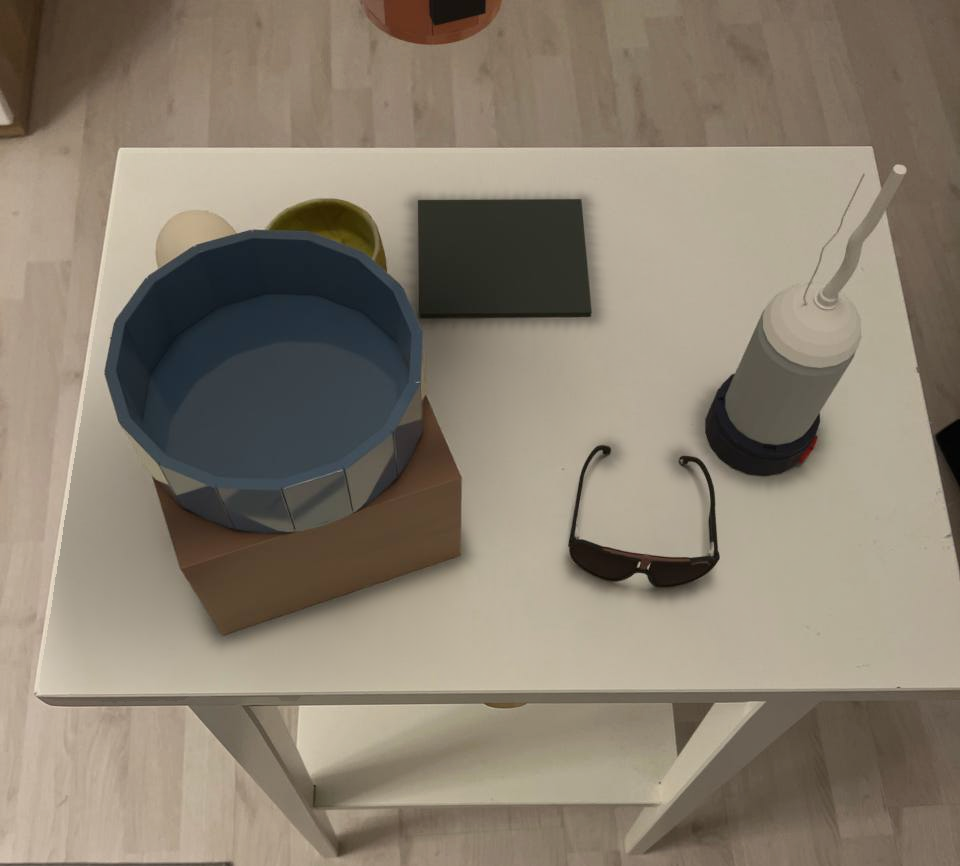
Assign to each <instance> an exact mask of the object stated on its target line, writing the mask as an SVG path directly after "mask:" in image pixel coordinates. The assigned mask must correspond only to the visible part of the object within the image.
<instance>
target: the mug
mask: <svg viewBox="0 0 960 866" xmlns="http://www.w3.org/2000/svg"><path fill="white" fill-rule="evenodd" d="M264 230H281V231H308V232H310V233H311V232H313V233H315V234H318V235H321V236H323V237H326V238H329V239H331V240H334V241H337V242H339V243H342V244H345V245H347V246H350V247H353V248H355V249H358V250H361V251H362V252H364V253H366V254H367V255H368V256H369V257H370V258H371V259H372V260H374V261H375V262H376V263H377V264H378V265H379V266H380V267H381V268H383V269H384V270H385V271H386V272H387V273H388V266H387V258H386V253H385V249H384V245H383V241H382V237H381V234H380V231H379V226H378V225H377V224H376V222H375V221H374V219H373V217H372V215H371V214H370V213H369V212H368V211H367V210H366V209H364V208H363V207H361V206H359V205H357V204H355V203H353V202H351V201H348V200H344V199H340V198H333V197H331V198H329V197H328V198H326V197H324V198H322V197H321V198H320V197H319V198H318V197H317V198H312V199H308V200H304V201H301V202H298V203H296V204H293V205H291V206H289V207H287V208H285V209H283V210H282V211H280V212H279V213H278V214H276V216H275V217H274V218H273V219H272V220H271V221H270V222H268V225H266V226H265V229H264Z"/></svg>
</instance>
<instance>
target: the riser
mask: <svg viewBox="0 0 960 866" xmlns="http://www.w3.org/2000/svg"><path fill="white" fill-rule="evenodd" d="M109 339H110V340H111V336H110V337H109ZM110 340H109V341H110ZM450 449H451V448H450V447H449V445H448V442H447V440H446V438H445V435H444V433H443V431H442V429H441V426H440V423H439V421H438V419H437V417H436V415H435V412H434V410H433V408H432V405H431V403H430V401H429V398H428V395H427V394H426V393H425V412H424V427H423V432H422V434H421V436H420V438H419V440H418V443H417V445H416V447H415V450H414V452H413V454H412V456H411V458H410V460H409V461H408V463H407V464H406V466H405V467H404V469H403V471H402V472H401V473H400V474H399V476H398V477H397V478H396V479H395V480H394V481H393V483H392V484H391V485H390V486H389V487H388V488H387V489H386V490H385V491H383V492H382V493H381V494H380V495H379V496H378V497H377V498H376V499H374V500H373V501H371V502H370V503H368V504H367V505H366V506H364V507H363V508H361V509H360V510H358V511H356V512H354V513H352V514H350V515H348V516H346V517H345V518H342V519H340V520H337V521H335V522H332V523H329V524H327V525H324V526H320V527H316V528H312V529H309V530H303V531H296V532H289V533H256V532H246V531H242V530H237V529H232V528H228V527H225V526H222V525H219V524H216V523H213V522H210V521H208V520H206V519H204V518H202V517H200V516H198V515H196V514H194V513H192V512H191V511H189V510H188V509H186V508H183V507H182V506H180V505H179V504H178V503H177V502H176V501H175V500H174V499H173V498H172V497H171V496H170V495H169V494H168V493H167V492H166V491H165V490H164V489H163V488H162V487H161V485H160V484H159V483H158V482H157V481H156V479H155V478H154V477H153V476H152V475H151V477H152V480H153V485H154V487H155V490H156V494H157V498H158V501H159V504H160V507H161V511H162V514H163V517H164V521H165V523H166V528H167V530H168V533H169V536H170V540H171V543H172V546H173V550H174V553H175V556H176V560H177V563H178V566H179V569H180V571H181V573H182V574H183V575H184V577H185V579H186V581H187V582H188V584H189V586H190V587H191V588H192V590H193V592H194V593H195V595H196V596H197V598H198V599H199V601H200V603H201V604H202V606H203V608H204V609H205V611H206V612H207V615H208V616H209V617H210V619H211V620H212V622H213V623H214V625H215V627H216V628H217V629H218V631H219V633H220V634H221V636H225V635H227V634H231V633H234V632H237V631H240V630H243V629H245V628H249V627H251V626H254V625H257V624H261V623H263V622H267V621H269V620H272V619H275V618H278V617H282V616H283V615H287V614H290V613H293V612H296V611H299V610H302V609H306V608H308V607H310V606H314V605H317V604H320V603H323V602H326V601H329V600H331V599H335V598H337V597H340V596H345V595H347V594H349V593H353V592H355V591H358V590H362V589H364V588H367V587H370V586H373V585H377V584H379V583H382V582H385V581H388V580H391V579H395V578H397V577H400V576H403V575H406V574H409V573H412V572H415V571H418V570H420V569H424V568H426V567H429V566H432V565H435V564H439V563H442V562H444V561H445V562H446V561H448V560H450V559H453V558H457V557H459V556H461V555H462V554H461V553H462V493H463V477H462V474H461V472H460V470H459V468H458V466H457V463H456V460H455V458H454V456H453V454H452V452H451V450H450Z"/></svg>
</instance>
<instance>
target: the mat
mask: <svg viewBox="0 0 960 866" xmlns="http://www.w3.org/2000/svg"><path fill="white" fill-rule="evenodd" d="M583 212H584V211H583V204H582V198H538V199H537V198H534V199H533V198H532V199H531V198H530V199H529V198H528V199H527V198H525V199H524V198H521V199H520V198H519V199H518V198H517V199H516V198H515V199H513V198H512V199H511V198H509V199H507V198H506V199H505V198H504V199H503V198H501V199H500V198H499V199H418V200H417V218H418V219H417V228H418V229H417V230H418V234H417V236H418V239H417V240H418V241H417V242H418V300H419V301H418V302H419V303H418V305H419V306H418V308H419V309H418V312H419V315H418V316H419V318H420V319H424V318H425V319H426V318H427V319H428V318H429V319H430V318H433V319H434V318H437V319H439V318H530V317H531V318H533V317H534V318H535V317H536V318H539V317H541V318H542V317H543V318H545V317H546V318H547V317H550V318H551V317H591V316H592V313H593V312H592V299H591V289H590V280H589V268H588V267H589V266H588V258H587V256H588V255H587V248H586V247H587V246H586V235H585V225H584V224H585V223H584V213H583Z"/></svg>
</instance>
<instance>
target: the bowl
mask: <svg viewBox="0 0 960 866" xmlns="http://www.w3.org/2000/svg"><path fill="white" fill-rule="evenodd" d="M236 233H237V234H233V235H230V236H226V237H222V238H219V239H215V240H211V241H207V242H204V243H200V244H196V245H195V246H192V247H191V248H189V249H188V250H186V251H185V252H183V253H182V254H180V255H179V256H177V257H176V258H174V259H173V260H171V261H170V262H168V263H167V264H165V265H164V266H162V267H161V268H159V269H158V268H157V269H155V271H153V272H151V273H149V274H148V275H147V276H146V277H145V278H144V279H143V281H142V282H141V283H140V285H139V286H138V287H137V289H136V290H135V292H134V293H133V295H132V296H131V297H130V299H129V300H128V302H127V303H126V304H125V305H124V307H123V308H122V310H121V311H120V312H119V313H118V314H117V317H116V318H115V319H114V322H113V325H112V331H111V334H110V337H111V340H109V346H108V350H107V357H106V360H105V365H104V370H103V373H104V377H105V381H106V385H107V388H108V392H109V395H110V398H111V401H112V404H113V407H114V408H113V409H114V412H115V414H116V418H117V421H118V422H117V423H119V425H120V427H121V429H122V430H123V432H124V434H125V436H126V437H127V439H128V441H129V443H130V444H131V446H132V448H133V449H134V451H135V453H136V455H137V456H138V459H139V460H140V462H141V463H142V465H143V467H144V469H145V470H146V471H147V472H148V473H149V475H150V476H151V477H152V476H153V477H154V478H155V479H156V481H157V482H158V483H159V484H160V485H161V487H162V488H163V489H164V490H165V491H166V492H167V493H168V494H169V495H170V496H171V497H172V498H173V499H174V500H175V501H176V502H177V503H178V504H179V505H180V506H182V507H183V508H186V509H188V510H189V511H191V512H192V513H194V514H196V515H198V516H200V517H202V518H204V519H206V520H208V521H210V522H213V523H216V524H219V525H222V526H225V527H228V528H232V529H237V530H242V531H246V532H256V533H289V532H296V531H303V530H309V529H312V528H316V527H320V526H324V525H327V524H329V523H332V522H335V521H337V520H340V519H342V518H345V517H346V516H348V515H350V514H352V513H354V512H356V511H358V510H360V509H361V508H363V507H364V506H366V505H367V504H368V503H370V502H371V501H373V500H374V499H376V498H377V497H378V496H379V495H380V494H381V493H382V492H383V491H385V490H386V489H387V488H388V487H389V486H390V485H391V484H392V483H393V481H394V480H395V479H396V478H397V477H398V476H399V474H400V473H401V472H402V471H403V469H404V467H405V466H406V464H407V463H408V461H409V460H410V458H411V456H412V454H413V452H414V450H415V447H416V445H417V443H418V440H419V438H420V436H421V434H422V432H423V427H424V412H425V394H426V385H427V383H426V382H427V381H426V380H427V379H426V361H425V360H426V358H425V357H426V356H425V337H424V336H425V335H424V331H423V329H422V326H421V324H420V322H419V319H418V317H417V315H416V312H415V310H414V309H413V306H412V304H411V302H410V299H409V296H408V294H407V292H406V291H405V288H404V286H403V285H402V284H401V283H400V282H398V280H396V279H395V277H393V276H392V275H391V274H389V272H388V271H387V272H386V271H385V270H384V269H383V268H381V267H380V266H379V265H378V264H377V263H376V262H375V261H374V260H372V259H371V258H370V257H369V256H368V255H367V254H366V253H364V252H362V251H361V250H358V249H355V248H353V247H350V246H347V245H345V244H342V243H339V242H337V241H334V240H331V239H329V238H326V237H323V236H321V235H318V234H315V233H313V232H311V233H310V232H308V231H281V230H265V229H256V228H255V229H248V230H244V231H241V232H236Z"/></svg>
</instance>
